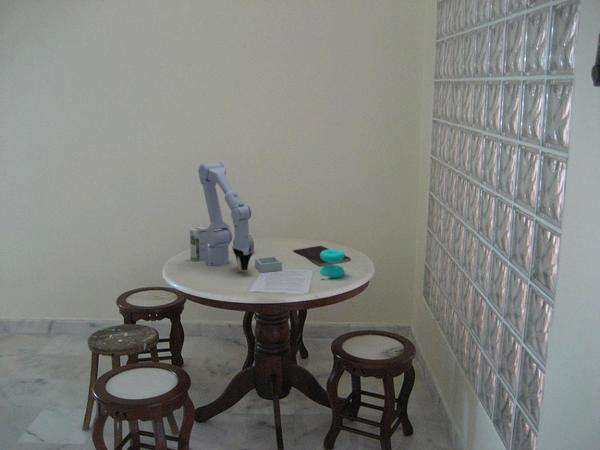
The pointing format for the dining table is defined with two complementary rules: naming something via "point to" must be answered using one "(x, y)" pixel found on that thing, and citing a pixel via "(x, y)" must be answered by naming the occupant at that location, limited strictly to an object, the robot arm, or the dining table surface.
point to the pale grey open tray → (268, 264)
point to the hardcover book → (317, 255)
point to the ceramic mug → (251, 244)
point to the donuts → (332, 256)
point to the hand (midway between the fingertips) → (242, 267)
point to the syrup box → (198, 243)
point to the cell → (240, 266)
